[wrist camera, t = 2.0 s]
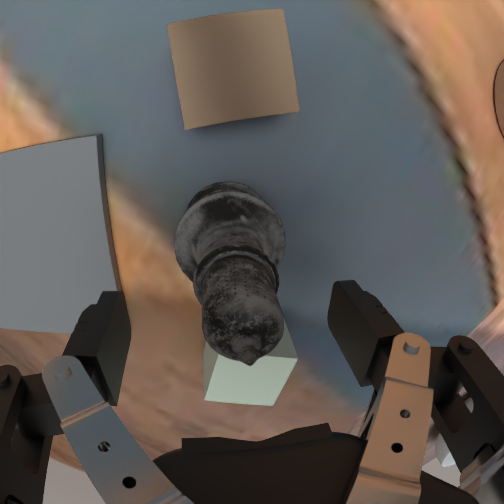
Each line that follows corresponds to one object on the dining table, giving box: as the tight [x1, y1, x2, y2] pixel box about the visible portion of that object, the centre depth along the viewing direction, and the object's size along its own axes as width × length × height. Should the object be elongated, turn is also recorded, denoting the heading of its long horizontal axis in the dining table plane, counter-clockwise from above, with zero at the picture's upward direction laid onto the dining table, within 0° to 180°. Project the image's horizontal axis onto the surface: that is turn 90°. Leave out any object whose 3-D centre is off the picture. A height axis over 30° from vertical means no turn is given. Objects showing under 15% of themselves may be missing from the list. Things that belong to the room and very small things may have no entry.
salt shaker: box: [174, 182, 285, 366], centre depth 14 cm, size 6×6×12 cm
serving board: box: [0, 134, 122, 334], centre depth 18 cm, size 13×14×1 cm
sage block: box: [203, 320, 298, 406], centre depth 21 cm, size 5×5×5 cm
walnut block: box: [167, 9, 300, 130], centre depth 14 cm, size 5×5×5 cm
